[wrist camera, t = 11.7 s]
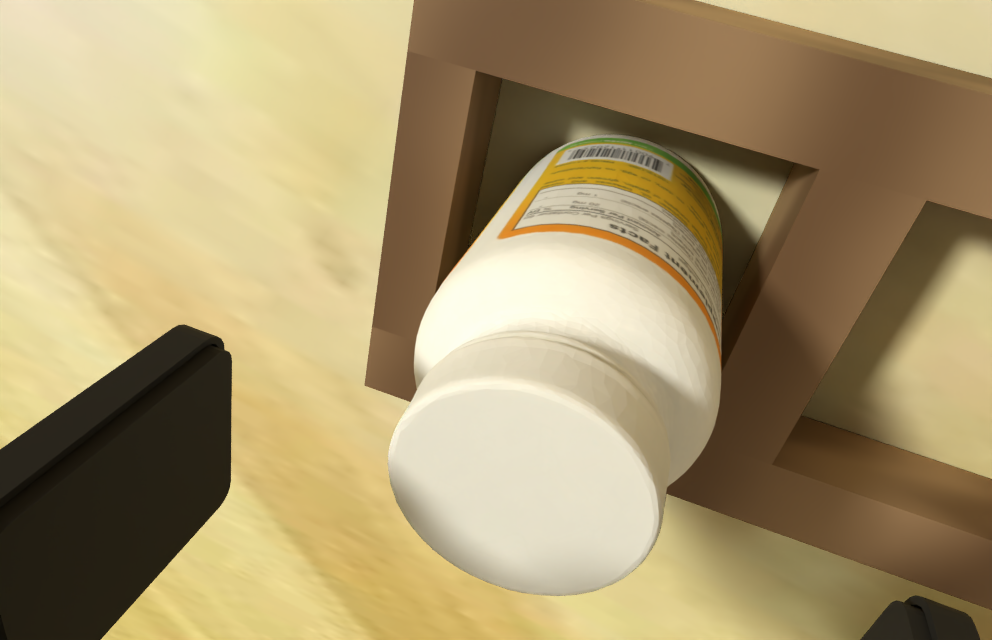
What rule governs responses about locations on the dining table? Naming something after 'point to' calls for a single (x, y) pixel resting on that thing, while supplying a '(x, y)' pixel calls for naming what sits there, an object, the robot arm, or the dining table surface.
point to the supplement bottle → (567, 371)
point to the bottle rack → (776, 259)
